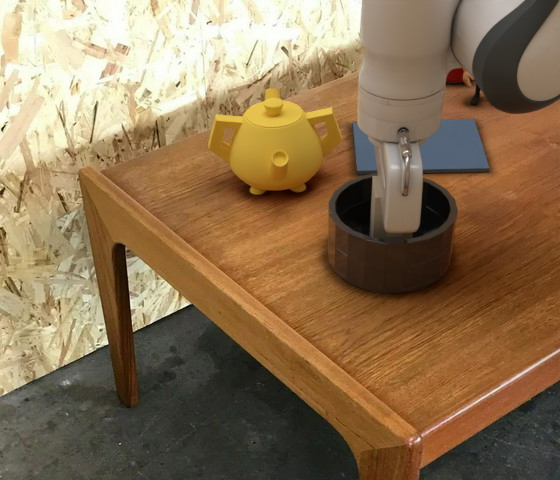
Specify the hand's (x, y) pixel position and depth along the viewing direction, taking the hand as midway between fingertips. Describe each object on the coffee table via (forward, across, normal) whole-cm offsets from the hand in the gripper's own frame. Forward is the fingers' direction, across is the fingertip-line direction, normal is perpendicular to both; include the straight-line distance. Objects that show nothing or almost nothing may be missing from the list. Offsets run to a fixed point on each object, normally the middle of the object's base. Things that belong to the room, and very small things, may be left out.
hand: (391, 219), depth 92 cm
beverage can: (+5, +48, -14) cm, 50 cm away
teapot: (+5, +18, +14) cm, 23 cm away
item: (+4, 0, 0) cm, 4 cm away
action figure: (+5, +39, -18) cm, 43 cm away
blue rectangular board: (+5, +26, -6) cm, 27 cm away
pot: (+5, 0, 0) cm, 5 cm away
